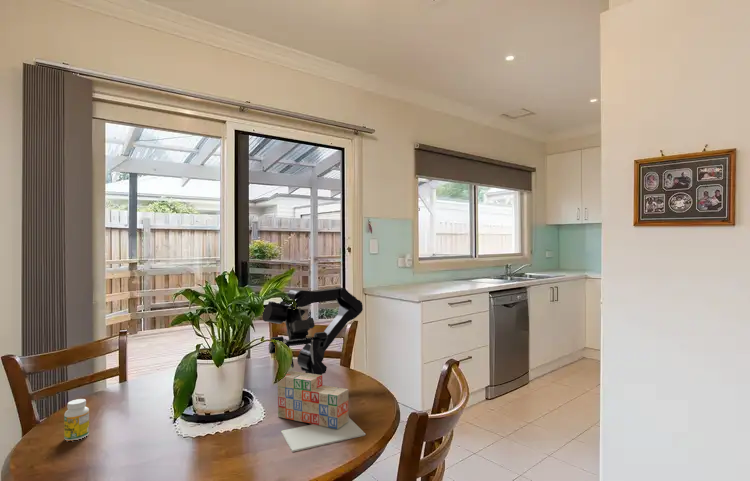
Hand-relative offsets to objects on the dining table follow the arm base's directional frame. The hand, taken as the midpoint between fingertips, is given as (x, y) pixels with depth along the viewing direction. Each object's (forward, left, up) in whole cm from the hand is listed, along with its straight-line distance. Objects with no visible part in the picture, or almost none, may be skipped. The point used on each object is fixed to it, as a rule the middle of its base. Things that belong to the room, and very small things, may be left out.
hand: (303, 365), depth 127 cm
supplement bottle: (-8, -60, -14) cm, 62 cm away
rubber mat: (+19, 0, -14) cm, 23 cm away
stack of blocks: (+10, 0, -13) cm, 17 cm away
